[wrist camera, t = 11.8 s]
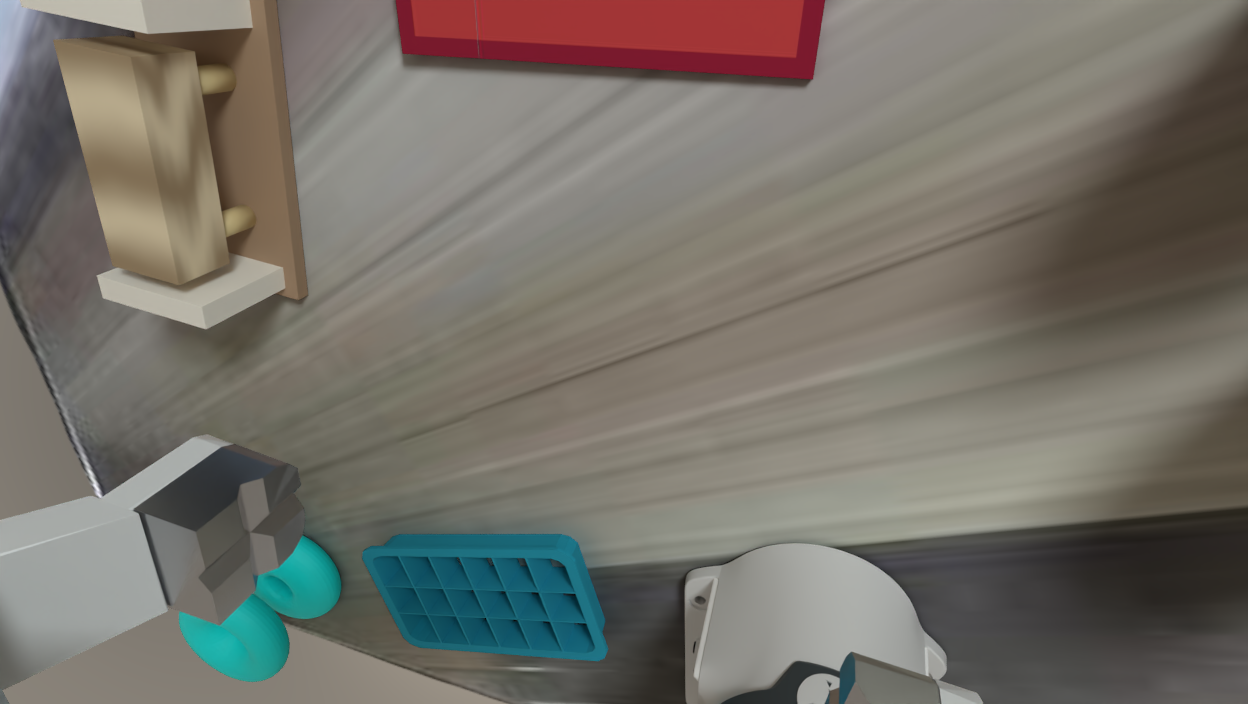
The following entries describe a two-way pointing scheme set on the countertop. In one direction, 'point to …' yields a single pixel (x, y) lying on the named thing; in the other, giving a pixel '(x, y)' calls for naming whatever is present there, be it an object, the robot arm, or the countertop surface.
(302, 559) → the donuts
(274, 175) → the cradle
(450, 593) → the ice cube tray
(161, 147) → the tan wooden block
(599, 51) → the red board with handle
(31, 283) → the countertop surface
